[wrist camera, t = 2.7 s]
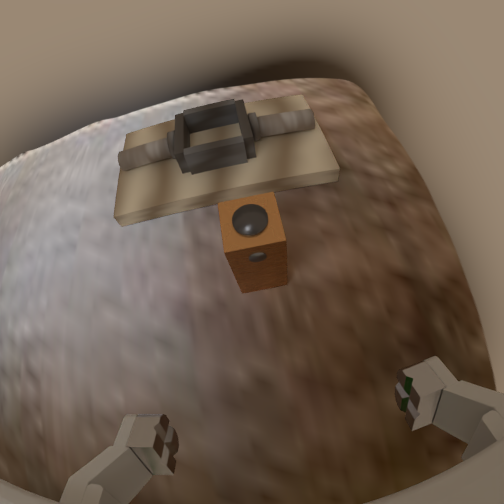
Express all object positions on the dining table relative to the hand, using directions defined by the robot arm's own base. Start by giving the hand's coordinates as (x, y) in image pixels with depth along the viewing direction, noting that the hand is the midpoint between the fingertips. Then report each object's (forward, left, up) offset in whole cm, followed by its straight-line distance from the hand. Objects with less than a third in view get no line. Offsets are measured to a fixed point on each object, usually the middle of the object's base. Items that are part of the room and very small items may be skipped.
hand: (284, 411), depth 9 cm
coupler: (-3, +11, -14) cm, 19 cm away
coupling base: (-9, +25, -14) cm, 30 cm away
